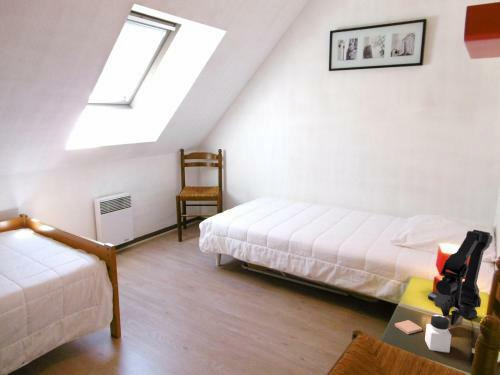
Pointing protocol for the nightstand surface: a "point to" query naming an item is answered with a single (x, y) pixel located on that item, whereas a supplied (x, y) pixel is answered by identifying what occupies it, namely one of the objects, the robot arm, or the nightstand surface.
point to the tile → (408, 327)
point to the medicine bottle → (438, 334)
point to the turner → (457, 323)
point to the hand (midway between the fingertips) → (449, 323)
